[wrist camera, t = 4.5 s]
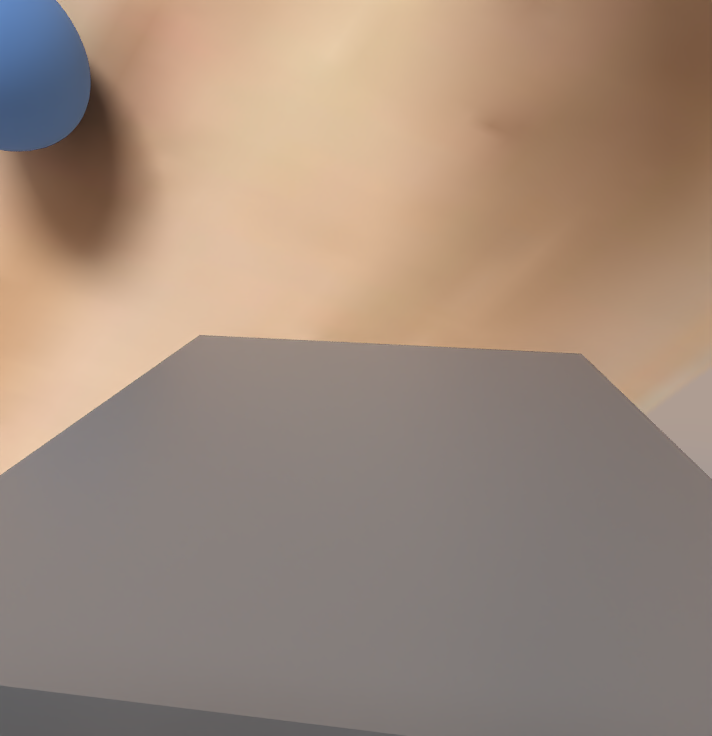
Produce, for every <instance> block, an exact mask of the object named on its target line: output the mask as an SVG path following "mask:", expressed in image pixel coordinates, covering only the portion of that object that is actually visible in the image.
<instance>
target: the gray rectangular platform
mask: <svg viewBox="0 0 712 736" xmlns="http://www.w3.org/2000/svg"><path fill="white" fill-rule="evenodd" d="M0 736H712V479H711V478H710V477H709V476H708V475H707V474H706V473H705V472H704V471H703V470H702V469H700V467H699V466H697V465H696V464H695V463H694V462H693V461H692V460H691V459H690V458H689V457H688V456H687V455H686V454H685V453H684V452H683V451H682V450H681V449H680V448H678V446H676V444H675V443H674V442H673V441H671V440H670V439H669V438H668V437H667V436H666V435H665V434H664V433H663V432H662V431H661V430H660V429H659V428H658V427H657V426H656V425H655V424H654V423H653V422H652V421H651V420H650V419H649V418H648V417H647V416H646V415H644V414H643V413H642V412H641V411H640V410H639V409H638V408H637V407H636V406H635V405H634V404H633V403H632V402H631V401H630V400H629V399H628V398H627V397H626V396H625V395H624V394H623V393H622V392H621V391H620V390H618V389H617V388H616V387H615V386H614V385H613V384H612V383H611V382H610V381H609V380H608V379H607V378H606V377H605V376H604V375H603V374H602V373H601V372H600V371H599V370H598V369H597V368H596V367H595V366H594V365H592V364H591V363H590V362H589V361H588V360H587V359H586V358H585V357H584V356H583V355H582V354H574V353H553V352H533V351H512V350H492V349H471V348H451V347H430V346H410V345H390V344H369V343H349V342H328V341H308V340H287V339H267V338H246V337H226V336H205V335H199V336H198V337H196V338H195V339H194V340H192V341H191V342H189V343H188V344H186V345H185V346H184V347H182V348H181V349H179V350H178V351H177V352H175V353H174V354H172V355H171V356H169V357H168V358H167V359H165V360H164V361H162V362H161V363H159V364H158V365H157V366H155V367H154V368H152V369H151V370H149V371H148V372H147V373H145V374H144V375H142V376H141V377H140V378H138V379H137V380H135V381H134V382H132V383H131V384H130V385H128V386H127V387H125V388H124V389H122V390H121V391H120V392H118V393H117V394H115V395H114V396H113V397H111V398H110V399H108V400H107V401H105V402H104V403H103V404H101V405H100V406H98V407H97V408H95V409H94V410H93V411H91V412H90V413H88V414H87V415H85V416H84V417H83V418H81V419H80V420H78V421H77V422H76V423H74V424H73V425H71V426H70V427H68V428H67V429H66V430H64V431H63V432H61V433H60V434H58V435H57V436H56V437H54V438H53V439H51V440H50V441H48V442H47V443H46V444H44V445H43V446H41V447H40V448H39V449H37V450H36V451H34V452H33V453H31V454H30V455H29V456H27V457H26V458H24V459H23V460H21V461H20V462H19V463H17V464H16V465H14V466H13V467H12V468H10V469H9V470H7V471H6V472H4V473H3V474H2V475H0Z"/></svg>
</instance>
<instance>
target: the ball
mask: <svg viewBox="0 0 712 736" xmlns="http://www.w3.org/2000/svg"><path fill="white" fill-rule="evenodd" d="M90 88H91V77H90V68H89V63H88V58H87V55H86V51H85V48H84V46H83V43H82V41H81V39H80V36H79V34H78V32H77V30H76V28H75V27H74V25H73V23H72V21H71V20H70V18H69V17H68V15H67V14H66V12H65V11H64V10H63V8H62V7H61V6H60V5H59V3H58V2H57V1H56V0H0V150H4V151H32V150H37V149H41V148H45V147H48V146H50V145H53V144H55V143H57V142H59V141H60V140H62V139H63V138H65V137H66V136H67V135H69V134H70V133H71V132H72V131H73V130H74V129H75V127H76V126H77V125H78V124H79V122H80V121H81V119H82V117H83V116H84V113H85V111H86V108H87V105H88V101H89V97H90Z"/></svg>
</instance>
